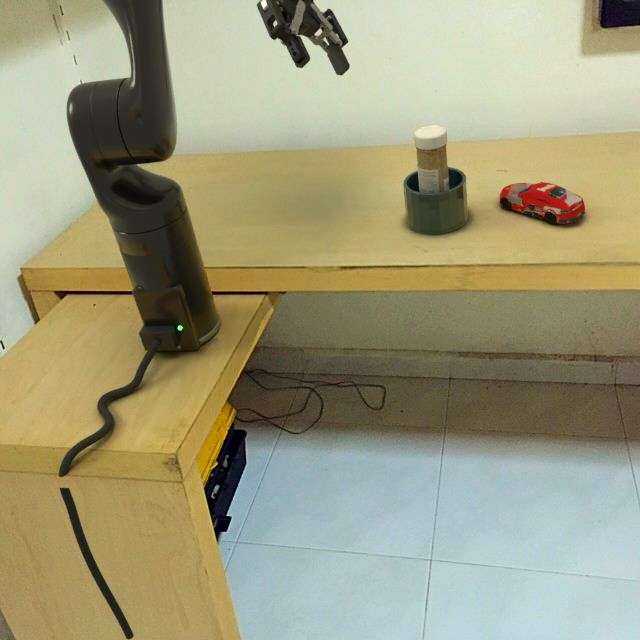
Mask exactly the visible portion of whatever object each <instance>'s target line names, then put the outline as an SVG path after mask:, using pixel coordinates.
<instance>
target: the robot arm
mask: <svg viewBox="0 0 640 640" xmlns="http://www.w3.org/2000/svg"><path fill="white" fill-rule="evenodd" d="M102 2H103V4H104V5H105V6H106V8H107V9H108V10H109V11H110V13H111V14H112V16H113V18H114V19H115V21H116V23H117V24H118V26H119V28H120V30H121V32H122V34H123V37H124V40H125V43H126V48H127V52H128V57H129V64H130V76H129V77H128V76H127V77H121V78H110V79H103V80H94V81H87V82H83V83H80V84H77V85H76V86H74V87H73V88H72V89H71V91H70V92H69V95H68V97H67V101H66V122H67V126H68V127H67V128H68V131H69V135H70V138H71V142H72V144H73V147H74V149H75V152H76V155H77V157H78V159H79V162H80V164H81V166H82V168H83V171H84V173H85V175H86V178H87V180H88V182H89V186H90V187H91V190H92V193H93V195H94V197H95V200H96V202H97V204H98V206H99V208H100V209H101V211H102V212H103V213H104V214H105V215H106V217H107V219H108V222H109V224H110V227H111V229H112V233H113V235H114V238H115V240H116V244H117V247H118V249H119V252H120V255H121V258H122V261H123V263H124V266H125V270H126V272H127V275H128V277H129V281H130V283H131V286H132V290H131V293H132V296H133V299H134V303H135V305H136V307H137V310H138V313H139V315H140V318H141V321H142V324H143V325H142V327H141V329H140V330H139V332H138V335H139V338H140V341H141V344H142V347H143V349H144V351H146V352H145V354H144V356H143V357H142V359H141V360H140V363H139V365H138V367H137V370H136V372H135V375H134V377H133V379H132V380H131V381H130V382H129V383H128V384H126V385H124V386H123V387H119V388H116V389H112V390H110V391H107V392H105V393H104V394H102V395H101V397H99V399H98V401H97V405H96V408H97V411H98V413H99V414H100V415H101V416H102V417H103V419H104V423H103V425H102V426H101V427H100V428H99V429H98V430H96V431H95V432H94V433H92V434H90V435H88V436H87V437H85V438H83V439H81V440H80V441H78V442H77V443H76V444H73V446H72V447H71V448H70V449H69V450H68V451H67V452H66V453H65V455H64V457H63V459H62V461H61V463H60V465H59V470H58V477H59V478H64V477H65V476H67V475H68V474H69V471H70V468H71V465H72V463H73V461H74V460H75V458H76V457H77V456H78V455H79V454H80V453H81V452H82V451H84V450H85V449H87V448H89V447H90V446H92V445H94V444H96V443H97V442H100V441H101V440H102V439H103V438H105V437H106V436H107V435H108V434H109V433H110V432H111V431H112V429H113V427H114V424H115V423H114V422H115V417H114V415H113V414H112V412H111V411H110V410H109V408H107V404H108V403H109V402H110V401H111V400H113V399H116V398H120V397H123V396H126V395H128V394H131V393H132V392H133V391H135V390H136V389H137V388H138V387H139V386H140V384H141V383H142V382H143V380H144V376H145V374H146V371H147V369H148V367H149V365H150V363H151V362H152V360H153V358H154V357H155V354H156V353H157V352H181V351H182V352H185V351H198V350H199V349H200V347H201V345H203V344H204V343H206V342H207V341H209V340H211V338H213V337H214V336H215V335H216V334H217V333H218V331H219V329H220V327H221V324H222V323H221V321H222V320H221V316H220V313H219V311H218V309H217V305H216V302H215V298H214V295H213V292H212V288H211V285H210V282H209V278H208V275H207V271H206V268H205V264H204V260H203V257H202V253H201V250H200V246H199V243H198V240H197V236H196V232H195V229H194V225H193V221H192V218H191V215H190V211H189V208H188V204H187V200H186V197H185V194H184V191H183V189H182V186H181V185H180V184H179V183H178V182H177V181H176V180H174V179H172V178H171V177H168V176H165V175H161V174H158V173H154V172H152V171H150V170H147V169H145V168H143V167H141V165H147V164H148V165H149V164H156V163H157V164H158V163H162V162H163V163H164V162H166V161H168V160H169V159H171V158H172V156H173V154H174V152H175V150H176V148H177V147H176V146H177V143H178V116H177V114H178V113H177V108H176V100H175V99H176V98H175V92H174V84H173V77H172V70H171V65H170V64H171V63H170V55H169V48H168V41H167V40H168V39H167V34H166V33H167V32H166V25H165V13H164V1H163V0H102ZM256 8H257V10H258V12H259V15H260V17H261V19H262V22H263V24H264V26H265V29H266V31H267V34H268V36H269V38H271V40H273V41H276V40H277V39H278V40H279V42H280V44H281V45H282V46H284V47H286V50H287V51H288V53H289V55H290V57H291V58H290V59H292V61H293V63H294V65H295V67H296V68H298V69H303V68H304V67H305V66H306V65H307V64H308V63H310V61H311V56H310V53H309V51H308V50H307V47H306V45H305V43H304V41H303V39H302V37H301V36H303V37H305V38H307V39H308V40H309V41H310V42H311V43H312V44H313V45H314V46H319V47H320V48H321V49H322V50H323V51H324V52H325V53H326V54H327V58H328V60H329V62H330V64H331V66H332V68H333V71H334V72H335V74H336V76H340V77H341V76H343V75H345V73H346V72H348V71H349V70H350V67H351V64H350V62H349V60H348V57H346V54H345V52H344V51H343V48H344V47H345V46H347V44H348V43H349V40H348V39H349V38H348V37H347V36H346V33H345V31H344V29H343V28H342V25H341V24H340V21H339V20H338V19H337V17H336V15H335V13H334V11H333V10H332V9H331V8H327V9H326V10H325V11H321V10H320V8H319V7H318V5H317V4H316V3H315V2H314V0H259V1H258V2H257V3H256ZM275 22H276V25H274V23H275ZM319 30H321V32H320V34H318V35H316V33H317V32H318V31H319ZM324 39H325V40H324ZM326 41H327V42H326ZM59 491H60V495H61V497H62V501H63V503H64V505H65V509H66V511H67V514H68V517H69V521H70V524H71V528H72V530H73V534H74V537H75V540H76V542H77V545H78V547H79V550H80V552H81V555H82V557H83V559H84V562H85V564H86V566H87V568H88V570H89V572H90V575H91V576H92V578H93V580H94V583H96V585H97V588H98V589H99V591H100V592H101V594H102V596H103V598H104V600H105V601H106V603H107V605H108V606H109V608H110V610H111V612H112V614H113V615H114V617H115V619H116V620H117V623H118V625H119V626H120V628H121V630H122V633H123V634H124V636H125V638H126V640H131V639H133V638H134V635H135V634H134V632H133V630H132V628H131V626H130V623H129V622H128V619H127V617H126V615H125V613H124V612H123V610H122V608H121V606H120V604H119V603H118V600H117V599H116V597H115V596H114V594H113V592H112V590H111V589H110V586H109V585H108V583H107V581H106V579H105V578H104V576H103V574H102V572H101V570H100V568H99V566H98V564H97V562H96V560H95V558H94V555H93V553H92V551H91V548H90V546H89V543H88V541H87V538H86V535H85V532H84V529H83V526H82V523H81V520H80V516H79V513H78V510H77V506H76V504H75V500H74V498H73V494H72V492H71V489H70V487H59Z"/></svg>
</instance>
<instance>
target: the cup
mask: <svg viewBox="0 0 640 640" xmlns="http://www.w3.org/2000/svg"><path fill="white" fill-rule="evenodd" d="M448 175H449V189H450V190H448V191H444V192H439V193H420V191H419V180H418V170H415V171H413V172H412V173H410V174H408V175H407V176H406V177H405V178H404V179H403V183H402V186H403V196H404V207H405V208H404V209H405V216H406V217H405V218H406V223H407V226H408V228H410V229H411V230H412V231H413V232H415V233H419V234H421V235H422V234H423V235H431V236H432V235H434V236H435V235H444V234H449V233H452V232H455V231H457V230H459V229H461V228H462V227H464V225H466V223H467V222H468V219H469V215H468V214H469V213H468V211H469V210H468V208H469V207H468V188H467V187H468V186H467V175H466V174H465V173H464V171H462V170H460V169H459V168H455V167H451V166H448Z"/></svg>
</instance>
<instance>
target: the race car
mask: <svg viewBox="0 0 640 640" xmlns="http://www.w3.org/2000/svg"><path fill="white" fill-rule="evenodd" d="M499 204H500V205H501V207H502V208H503V209H504V210H505V211H510V210H513V211H516V212H518V213H519V212H520V213H522V214H526V215H528V216H532V217H535V218H537V219H540V220H545V221H546V222H547V223H548V224H550V225H555V224H561V225H565V224H570V223H574V222H575V221H577V220H578V219H579V218H581V217H582V216H584V215H586V204H585V201H584V198H583V197H581V196H580V195H578V194H577V193H574V192H572V191H571V190H568V189H567V188H565V187H562V186H560V185H557V184H554V183H550V182H545V181H544V182H543V181H541V182H538V183H528V182H515V183H512V184H511V183H510V184H509V185H506V186H504V187H503V188H502V189H501V191H500V193H499Z"/></svg>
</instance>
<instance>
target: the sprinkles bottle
mask: <svg viewBox="0 0 640 640" xmlns="http://www.w3.org/2000/svg"><path fill="white" fill-rule="evenodd" d="M413 141H414V142H413V143H414V147H415V149H416V160H417V161H416V162H417V165H416V166H417V171H418V180H419V191H420V193H439V192H444V191H448V190H450V189H449V175H448V167H449V166H448V155H447V154H448V153H447V145H448V144H447V143H448V133H447V128H445V127H443V126H441V125H426V126H421V127H419V128H417V129H416V130H415V131H414V132H413Z"/></svg>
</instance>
